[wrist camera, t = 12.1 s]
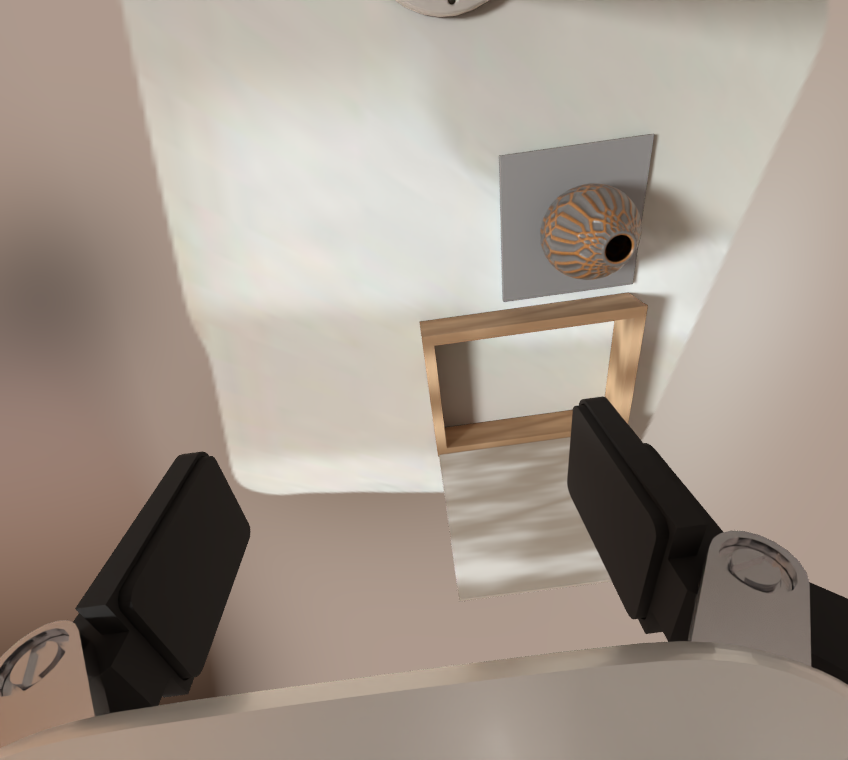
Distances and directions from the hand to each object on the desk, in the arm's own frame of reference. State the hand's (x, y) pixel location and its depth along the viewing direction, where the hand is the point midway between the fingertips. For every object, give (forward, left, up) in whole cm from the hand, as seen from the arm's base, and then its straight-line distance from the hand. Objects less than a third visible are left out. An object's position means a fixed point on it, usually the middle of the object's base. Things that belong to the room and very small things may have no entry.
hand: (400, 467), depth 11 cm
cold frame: (+18, +11, -28) cm, 35 cm away
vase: (+1, +15, -28) cm, 32 cm away
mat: (+1, +15, -28) cm, 32 cm away
